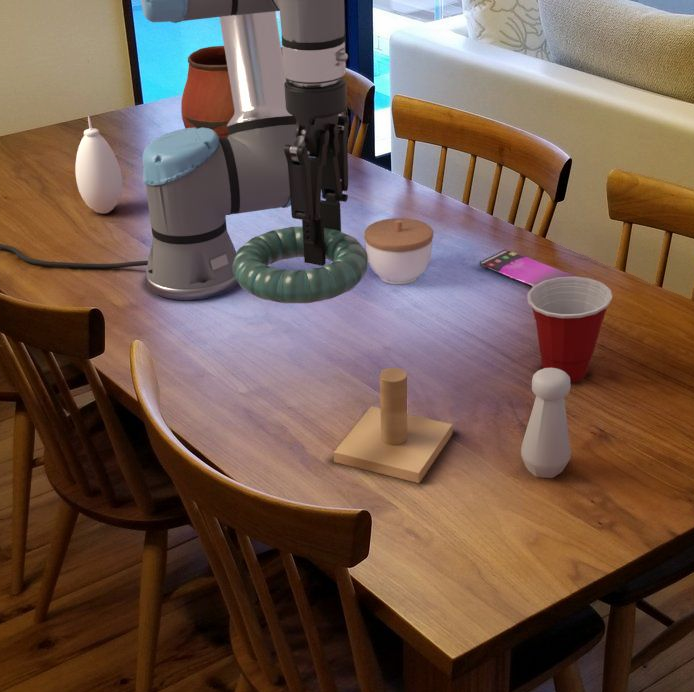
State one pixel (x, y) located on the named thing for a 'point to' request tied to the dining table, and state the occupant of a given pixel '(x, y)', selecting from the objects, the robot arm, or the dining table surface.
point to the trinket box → (398, 249)
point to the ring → (299, 283)
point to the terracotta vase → (208, 91)
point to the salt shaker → (547, 425)
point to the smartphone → (522, 268)
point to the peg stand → (393, 435)
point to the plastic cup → (568, 321)
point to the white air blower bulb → (97, 172)
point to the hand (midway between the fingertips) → (323, 255)
